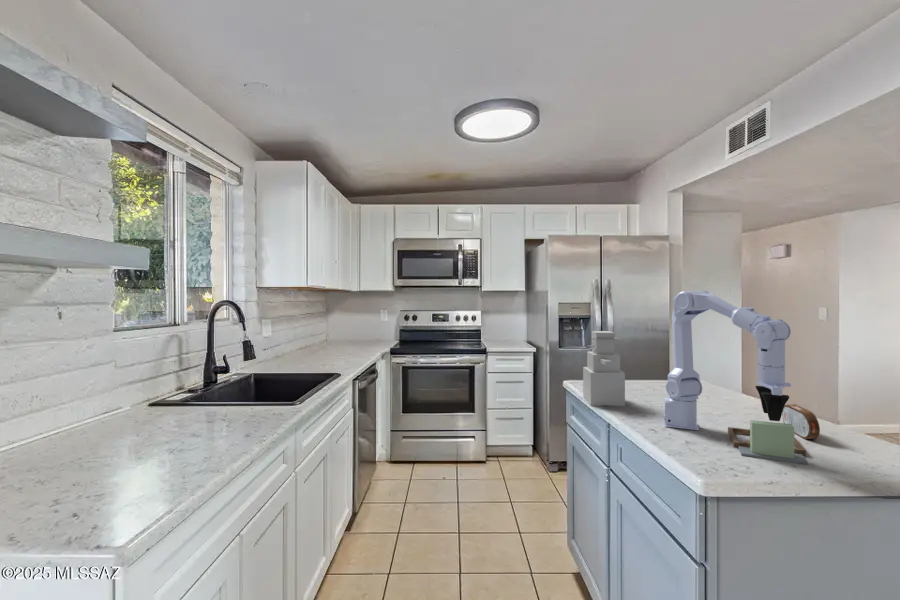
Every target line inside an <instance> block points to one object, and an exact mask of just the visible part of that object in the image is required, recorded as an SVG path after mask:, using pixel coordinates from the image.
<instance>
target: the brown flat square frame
mask: <svg viewBox="0 0 900 600" xmlns="http://www.w3.org/2000/svg"><path fill="white" fill-rule="evenodd" d="M727 434H728V437H729V438H730V441H731V444H732V446H733V448H737V449H739V448H738V446H741V447H749V448H750V443H748V442H746V441H739V440H738V439H737V436H736V435H746V436H750V428H749V429H747V428H741V427H731V426H728V427H727ZM794 453H797V454H802V455H803V456H804V457H807V456H806V455H807V451H806V449H805V448H804V447H803V445H802V444H801V443H800V442H799V441H798V439H797V438H796V437H795V436H794Z"/></svg>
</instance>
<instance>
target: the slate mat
mask: <svg viewBox="0 0 900 600" xmlns="http://www.w3.org/2000/svg"><path fill="white" fill-rule="evenodd" d="M737 449H738V451H739V453H740V455H741V456H743V457H751V458H758V459H766V460H770V461H771V460H773V461H781V462H788V463H795V464H803V465H809V461H808V460H807V459H806V458H805V456H803V455H802V454H797V453H794V458H788V457H780V456H772V455H764V454H757V453H752V452H751V450H750V448H749V447H741V446H738V448H737Z"/></svg>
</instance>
